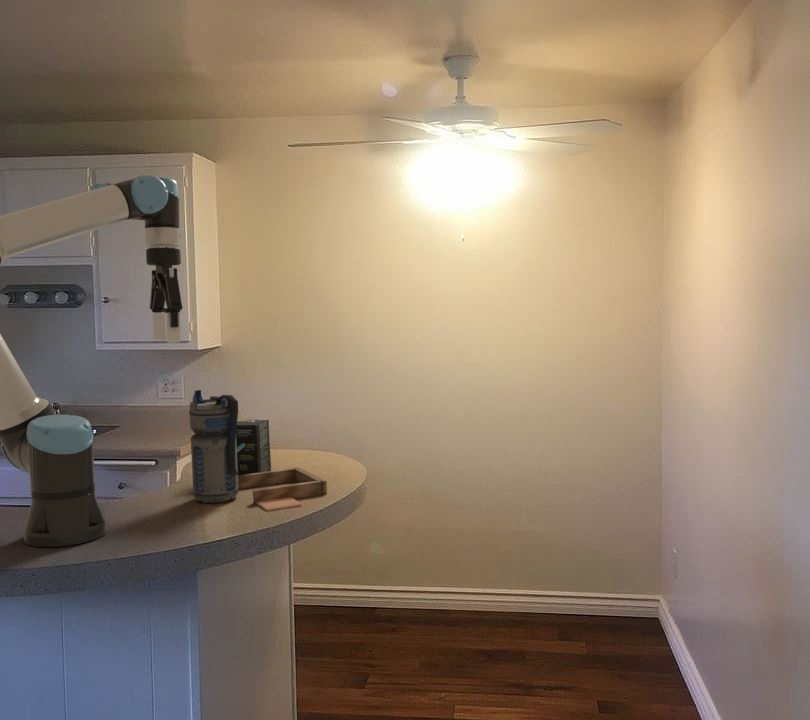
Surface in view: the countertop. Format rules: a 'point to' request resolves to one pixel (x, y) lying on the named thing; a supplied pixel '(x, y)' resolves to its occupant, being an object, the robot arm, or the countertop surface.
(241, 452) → the tampon box
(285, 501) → the tile
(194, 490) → the beverage bottle
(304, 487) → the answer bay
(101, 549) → the countertop surface
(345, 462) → the countertop surface
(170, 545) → the countertop surface
